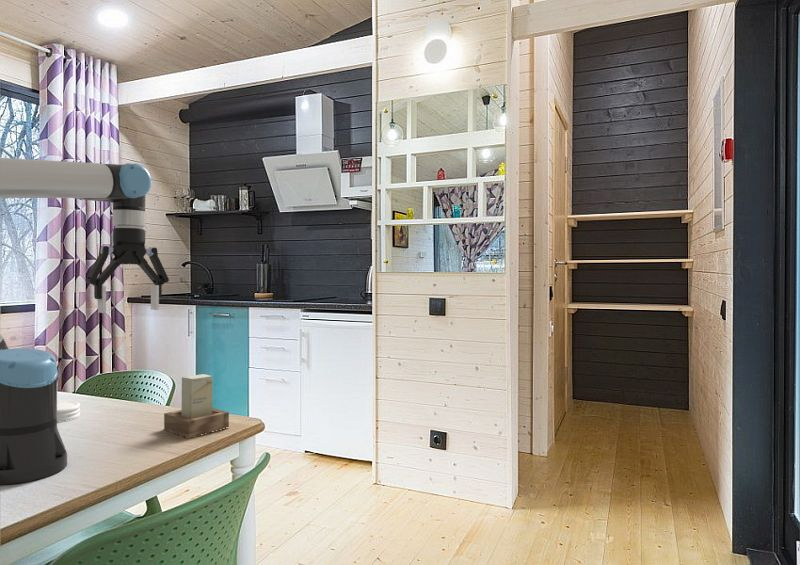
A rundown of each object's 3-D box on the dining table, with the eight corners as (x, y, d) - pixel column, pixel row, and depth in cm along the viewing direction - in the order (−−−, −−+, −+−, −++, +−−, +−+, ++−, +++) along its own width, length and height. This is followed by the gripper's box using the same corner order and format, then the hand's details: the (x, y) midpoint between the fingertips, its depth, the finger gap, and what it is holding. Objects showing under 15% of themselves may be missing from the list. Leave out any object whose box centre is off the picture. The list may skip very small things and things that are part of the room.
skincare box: (190, 429, 139) (190, 379, 138) (180, 425, 141) (180, 376, 141) (213, 423, 144) (213, 375, 143) (203, 420, 146) (203, 373, 146)
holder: (188, 438, 135) (188, 421, 134) (164, 429, 141) (164, 413, 141) (228, 428, 143) (228, 412, 143) (203, 420, 150) (203, 405, 150)
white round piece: (65, 424, 145) (65, 410, 145) (27, 423, 146) (27, 409, 146) (87, 414, 155) (87, 401, 155) (51, 413, 156) (51, 400, 156)
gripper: (167, 230, 158) (167, 307, 158) (70, 225, 138) (70, 312, 139) (182, 230, 153) (182, 309, 154) (84, 224, 133) (84, 314, 134)
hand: (129, 311), depth 146 cm, fingers open, 13 cm apart
